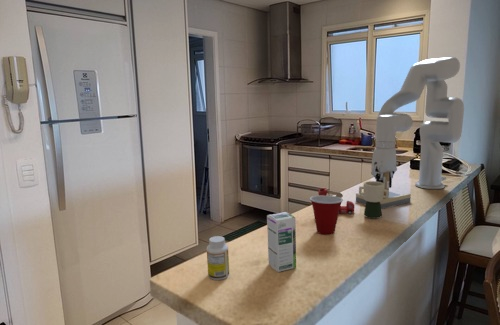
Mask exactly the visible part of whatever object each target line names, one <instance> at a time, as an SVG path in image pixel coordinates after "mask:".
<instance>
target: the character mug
mask: <svg viewBox="0 0 500 325" xmlns="http://www.w3.org/2000/svg"><path fill="white" fill-rule="evenodd" d="M362 191H363V192H364V193H362ZM384 192H386V196H384ZM389 192H390V189H389V190H385V189H384V183H382V182H377V181H376V180H375V181H374V180H372V181H371V180H370V181H365V182H363V186H361V185H360V186H359V187H358V193H359V194H360V195H363V198H364V200H366V201H367V202H366V205H365V204H364V205H365V206H364V211H363V212H364V213H363V215H364V216H365V217H366V218H368V219H369V218H370V219H378V218H381V217H382V209H381V204H380V202H381V201H382V200H383V198H386V199H388V198H389Z"/></svg>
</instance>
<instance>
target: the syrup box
mask: <svg viewBox="0 0 500 325" xmlns="http://www.w3.org/2000/svg"><path fill="white" fill-rule="evenodd" d="M266 226H267V227H266V228H267V229H266V230H267V254H268V255H267V256H268V258H267V261H268V265H270V267H271V268H272V269H273V270H274V271H276V272H277V273H280V272H284V271H288V270H292V269H296V268H297V235H296V233H297V232H296V226H297V225H296V216H295V215H293V214H291V213H289V212H287V211H284V212H278V213H273V214H267V215H266Z"/></svg>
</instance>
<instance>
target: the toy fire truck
mask: <svg viewBox="0 0 500 325" xmlns="http://www.w3.org/2000/svg"><path fill="white" fill-rule="evenodd" d="M327 194H330V195H331V194H332V195H333V196H335V197H340V198H342V199H343V197H344V196H343V195H344V194H343V193H341V192H340V191H339V192H338V191H336V190H335V191H334V190H332V189H331V190H330V189H327V188H326V187H325V188H320V189H318V196H321V195H323V196H328V195H327ZM339 214H348V215H351V214H355V203H354V201H353V202H352V201H351V200H346V204H345V205H343V206H342V205H340V209H339Z"/></svg>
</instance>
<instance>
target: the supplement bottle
mask: <svg viewBox="0 0 500 325" xmlns="http://www.w3.org/2000/svg"><path fill="white" fill-rule="evenodd" d="M208 239H209V240H208V245H207V246H206V259H207V260H206V263H207V276H208V277H209V278H210V279H211V280H214V281H222V280H225V279H227V278H228V277H229V276H230V262H229V261H230V259H229V258H230V257H229V246H228V245H227V243H226V240H225V239H226V238H225V237H223V236H220V235H217V236H216V235H214V236H212V237H210V238H208Z"/></svg>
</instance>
